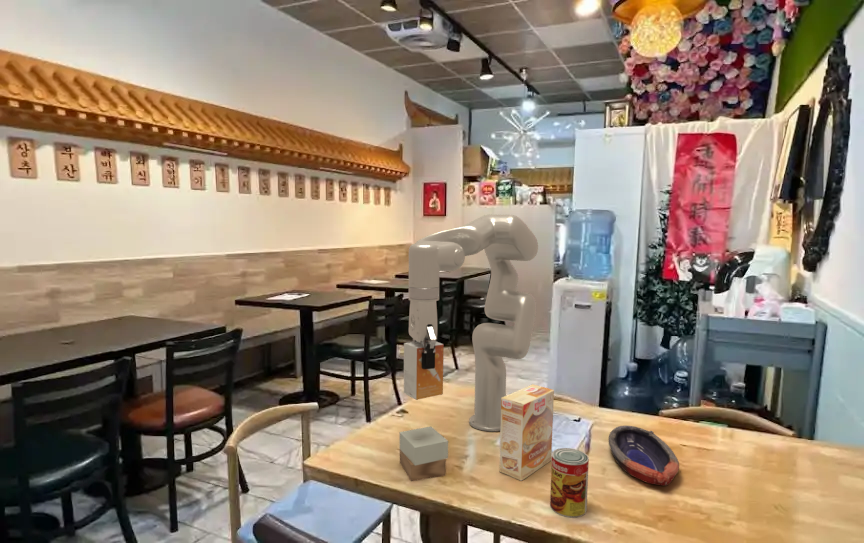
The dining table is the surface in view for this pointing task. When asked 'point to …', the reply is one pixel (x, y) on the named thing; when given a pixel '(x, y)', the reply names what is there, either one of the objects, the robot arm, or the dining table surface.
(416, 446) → the tower top
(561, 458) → the canned food
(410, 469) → the tower base
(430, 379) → the small box
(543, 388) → the coffeecake box
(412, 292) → the robot arm
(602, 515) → the dining table surface
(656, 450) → the dish
